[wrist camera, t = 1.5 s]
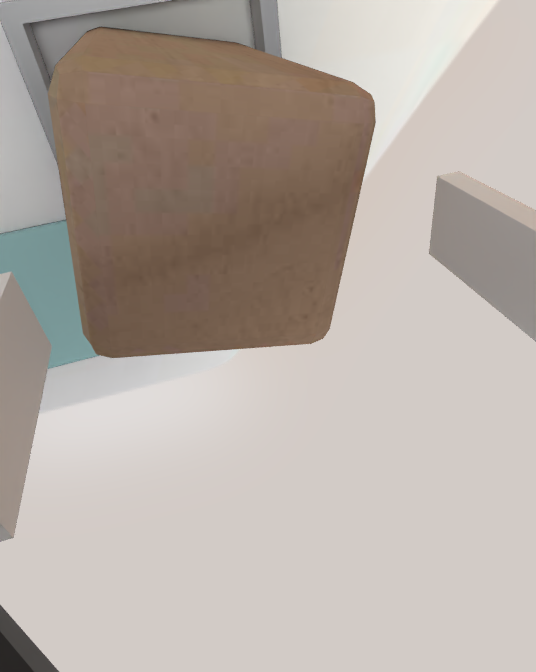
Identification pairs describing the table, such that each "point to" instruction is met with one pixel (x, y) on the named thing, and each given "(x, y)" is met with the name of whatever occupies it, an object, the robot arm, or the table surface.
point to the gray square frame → (50, 3)
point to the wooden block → (204, 191)
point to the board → (48, 286)
